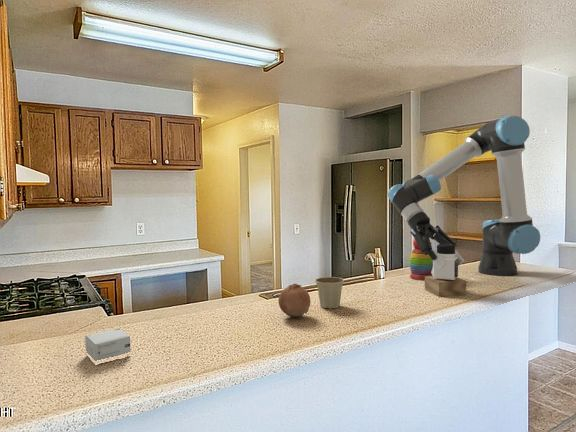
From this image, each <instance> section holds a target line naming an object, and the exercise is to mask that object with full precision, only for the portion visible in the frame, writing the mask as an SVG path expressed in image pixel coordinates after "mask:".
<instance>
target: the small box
mask: <svg viewBox="0 0 576 432" xmlns="http://www.w3.org/2000/svg"><path fill="white" fill-rule="evenodd" d="M84 337H85V340H84V341H85V352H86V351H87V353H88V354H89V355H90V356H91V357H92V358H93V359H94V360H95V361H97V360H101V359H105V358H109V357H114V356H118V355H121V354H125V353H128V352H131V336H130V335H129V334H128V333H126V332H125V331H123V330H122V329H121V328H119V327H118V328H114V329H111V330H110V329H109V330H104V331H100V332H96V333H93V334H87V335H84ZM131 353H132V352H131Z"/></svg>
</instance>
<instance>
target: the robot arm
mask: <svg viewBox="0 0 576 432" xmlns="http://www.w3.org/2000/svg"><path fill="white" fill-rule="evenodd" d="M530 130H531V129H530V126H529V124H528V122H527V120H525V119H524V118H522V117H521V116H518V115H507V116H503V117H501V118H497V119H495V120H490V121H489V122H486V123H484V124H483V125H482V126H480V127H479V128H478V129H477V130H475V131H474V132H472V133H471V134H470V135H468V136H467V137H466V138H465V139H464V142H463V143H461V144H460V145H458V146H457V147H455V148H454V149H453V150H451V151H450V152H448V153H447V154H445V155H444V156H442V157H441V158H440V159H438V160H436V161H435V162H434V163H433V164H431V165H430V166H428V167H426V168H425V169H424V170H422V171H421V172H420V173H418V174H417V175H415V176H414V177H412V178H411V179H408V180H406V181H403V183H402V184H401V183H399V184H395V185H393V186H391V188H389V190H388V192H387V198H388V199H389V200H390V202H391V204H392V205H393V207H394V208H396V210H397V211H398V212H399V214H400V215H401V216H402V218H403V219H404V220H405V222H406V223H407V224H408V226H409V227H410V229H411V231H410V234H411V236H412V237H413V238H415V240H416V242H417V244H418V246H419V248H420V250H421V252H422V253H424V252H425V253H424V254H425V255H427V254H429V256H430V257H431V258H432V260H433V263H434V262H435V263H436V265H437V266H438V267H439V269H441V268H442V267H443V266H444V265H445V264H446V263H445V262H444V261H443V259H442V258H441V257H440V256H439V254H438V253H437V249H436V248H434V249H433V247H432V246H433V245H432V242H431V240H434V241H435V242H437V243H438V245H439V244H453V245H454V246H455V247H456V245H457V243H456V242H455V241H454V240H453V239H452V238H450V236H449V235H448V234H447V233H446V232H444V231H443V229H441V227H440V225H436V226H434V225H432V224H431V218H430V217H429V216H428V214H426V212H425V210H424V209H423V208H422V207H421V206H420V205H419V202H421V201H423V200H426V199H427V198H430V197H431V196H433V195H436V194H437V193H439V192H440V191H441V190H442V184H441V182H440V181H442V180H443V179H445V178H446V177H448V176H449V175H451V174H452V173H454V172H455V171H456V170H457V169H459V168H461V167H462V166H464V165H465V164H466V163H468V162H469V161H470V160H473V158H475V157H477V158H478V157H480V156H482V155H484V154H486V153H488V152H490V151H491V155H492V156H494V157H495V158H496V166H497V173H498V174H497V175H498V182H499V193H500V203H501V212H502V215H501V216H502V217H501V218H499V219H498V218H497V219H487V220H485V221H483V223H482V228H481V230H482V256H481V257H480V261H479V264H478V267H477V269H478V270H477V271H478V272H479V273H481V274H484V275H490V276H491V275H492V276H514V275H518V267H517V264H516V261H515V257H514V255H513V253H514V254H520V255H521V254H522V255H526V254H530V253H532V252H534V251H535V249H536V248H537V247H539V245H540V242H541V232H540V230H539V229H538V228H537V227H535V226H534V224H533V223H534V222H533V218H532V217H531V216H530V215H529V214H528V211H527V199H526V191H525V179H524V172H523V170H524V169H523V161H522V153H523V152H524V151H525V149H526V147H525V142H526V141H527V140H528V138H529V137H530V133H531V132H530ZM430 239H431V240H430ZM430 242H431V243H430ZM423 247H424V248H423ZM454 257H458V267H459V266H461V265H462V264H463V263H464V262H465V259H464V258H463V257H462V256H461V254H460V253H459V252H458V251H457V249H456V248H455V256H454Z"/></svg>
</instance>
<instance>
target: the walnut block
mask: <svg viewBox="0 0 576 432" xmlns="http://www.w3.org/2000/svg"><path fill="white" fill-rule="evenodd" d="M424 291H426V292H428V293H430V294H433V295H435V296H437V297H438V298H439V297H455V296H466V295H467V280H465V279H463V278H460V277H457V278H456V279H455V280H447V279H435V278H434V276H425V280H424Z"/></svg>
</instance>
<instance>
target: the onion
mask: <svg viewBox="0 0 576 432" xmlns="http://www.w3.org/2000/svg"><path fill="white" fill-rule="evenodd" d="M278 306H279V308H280V310H281V311H282V312H283V313H284V314H286V316H288V317H289V318H298V317H303V315H304V314H308V312H309V310H310V309H309V308H310V306H311V297H310V294H309V292H308V291H307V290H306V289H305V288H303V287H302V285H300V284H298V283H293V284H290V285H288V286H287V287H285V288H283V290H282V291H281V292H280V294H279V297H278Z"/></svg>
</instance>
